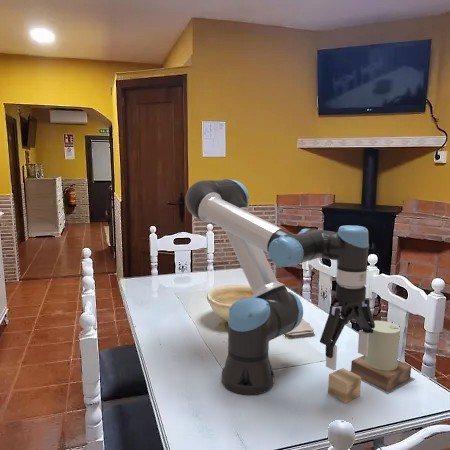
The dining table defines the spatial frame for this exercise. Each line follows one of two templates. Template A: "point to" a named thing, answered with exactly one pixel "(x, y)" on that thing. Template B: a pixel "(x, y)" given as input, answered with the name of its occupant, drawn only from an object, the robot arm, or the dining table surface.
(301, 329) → the washcloth
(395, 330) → the can
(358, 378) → the cube
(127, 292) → the dining table surface
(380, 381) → the slab
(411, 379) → the mat
